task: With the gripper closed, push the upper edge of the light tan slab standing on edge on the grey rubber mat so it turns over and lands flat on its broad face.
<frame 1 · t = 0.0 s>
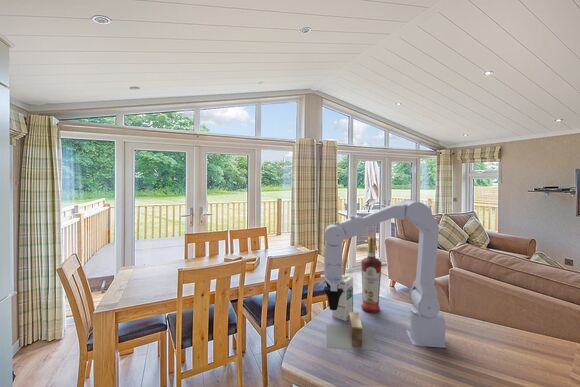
hand: (332, 304, 92), 10 cm above the table, fingers open, 7 cm apart
mat: (350, 337, 91), on the table
slab: (355, 337, 90), resting on mat
syrup box: (342, 317, 104), on the table
liquor: (370, 310, 109), on the table
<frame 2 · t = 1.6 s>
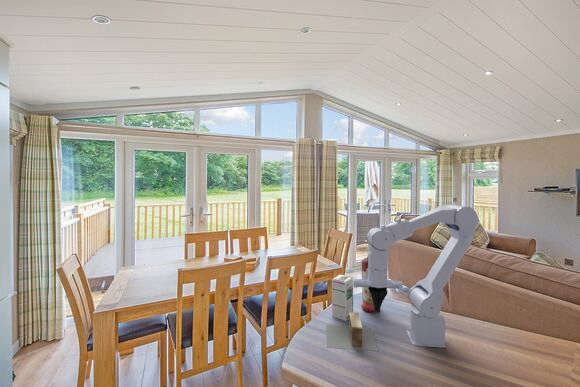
hand: (376, 310, 89), 10 cm above the table, fingers closed
nothing on the table moved.
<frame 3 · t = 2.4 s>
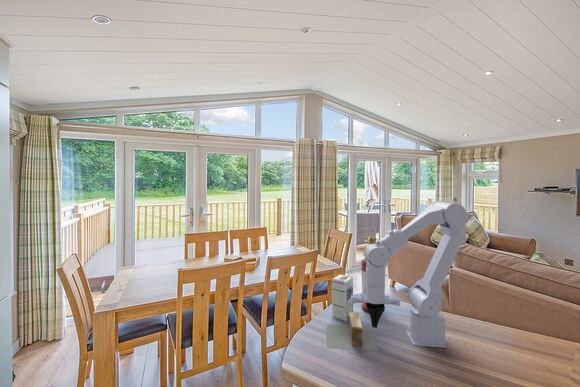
hand: (374, 325, 89), 5 cm above the table, fingers closed
nothing on the table moved.
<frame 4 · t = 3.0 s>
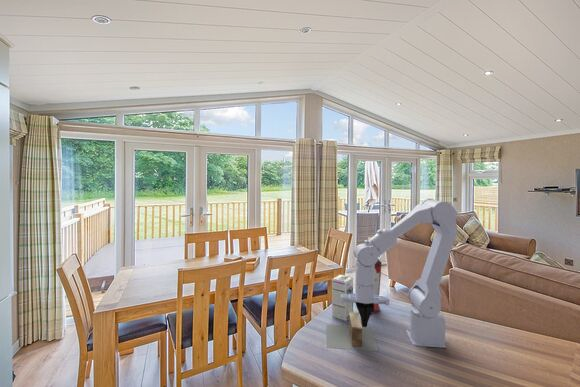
hand: (364, 325, 89), 5 cm above the table, fingers closed
slab: (355, 337, 90), resting on mat, touching gripper
everything else where it was.
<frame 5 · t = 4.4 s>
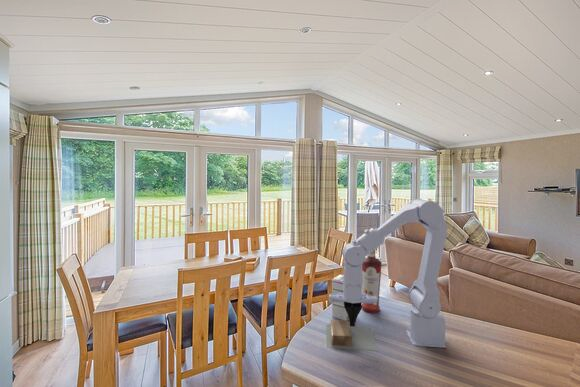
hand: (352, 324, 90), 5 cm above the table, fingers closed
slab: (350, 332, 90), point 2 cm above the table, tilted 90°, touching mat
everything else where it was.
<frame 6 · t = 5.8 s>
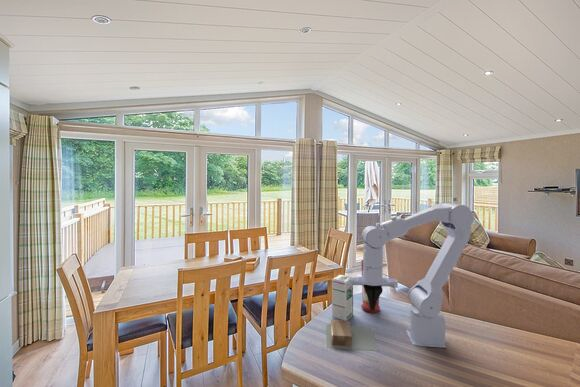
hand: (372, 308, 89), 10 cm above the table, fingers closed
nothing on the table moved.
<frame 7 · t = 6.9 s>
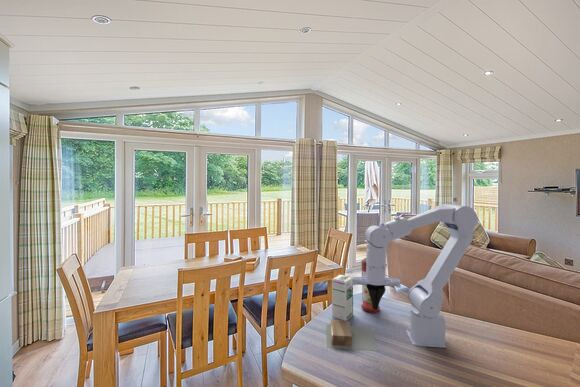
hand: (374, 308, 89), 10 cm above the table, fingers closed
nothing on the table moved.
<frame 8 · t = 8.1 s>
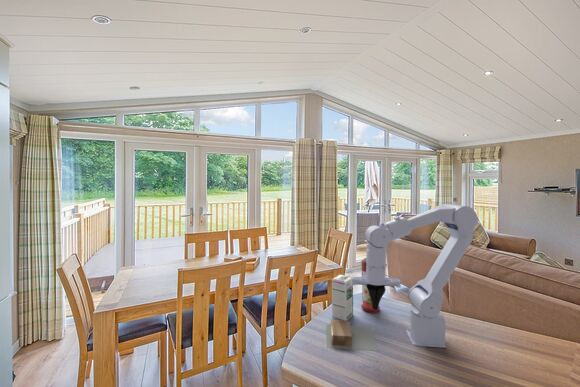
hand: (374, 308, 89), 10 cm above the table, fingers closed
nothing on the table moved.
at the end: slab tilted 90°; slab inside the target area (2.5 cm from its centre), point 1.9 cm above the table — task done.
